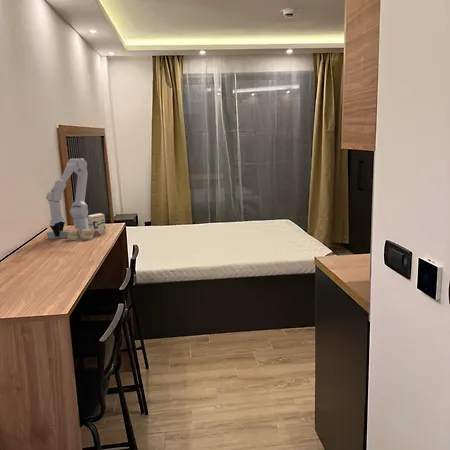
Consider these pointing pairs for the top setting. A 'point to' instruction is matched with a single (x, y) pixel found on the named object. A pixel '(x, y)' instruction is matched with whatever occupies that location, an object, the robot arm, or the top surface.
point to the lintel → (62, 235)
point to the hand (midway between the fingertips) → (59, 235)
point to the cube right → (87, 234)
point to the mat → (81, 239)
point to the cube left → (73, 234)
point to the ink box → (97, 223)
